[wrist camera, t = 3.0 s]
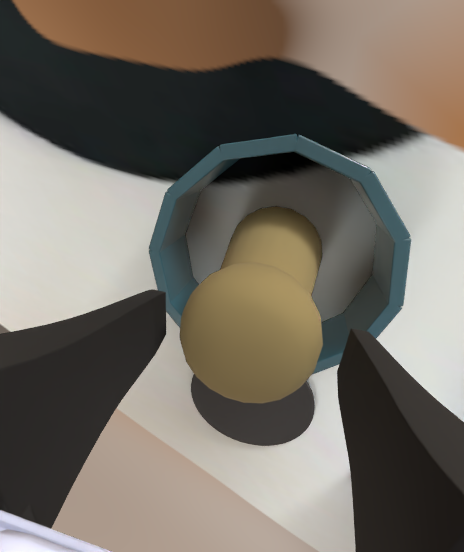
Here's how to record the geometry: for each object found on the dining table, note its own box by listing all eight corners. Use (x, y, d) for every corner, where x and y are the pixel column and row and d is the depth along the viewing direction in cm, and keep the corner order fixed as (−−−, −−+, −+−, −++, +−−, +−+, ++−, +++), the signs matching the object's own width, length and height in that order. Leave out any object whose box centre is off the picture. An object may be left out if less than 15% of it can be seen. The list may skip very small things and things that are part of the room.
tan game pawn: (219, 276, 21) (141, 390, 11) (244, 193, 18) (171, 245, 8) (300, 306, 20) (295, 455, 10) (339, 225, 17) (380, 323, 8)
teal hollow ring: (439, 204, 16) (479, 219, 12) (314, 366, 22) (315, 409, 18) (220, 99, 16) (196, 85, 13) (156, 287, 22) (128, 314, 19)
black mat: (340, 387, 22) (340, 391, 22) (277, 458, 27) (277, 462, 26) (217, 325, 22) (216, 328, 22) (177, 406, 27) (175, 409, 27)
